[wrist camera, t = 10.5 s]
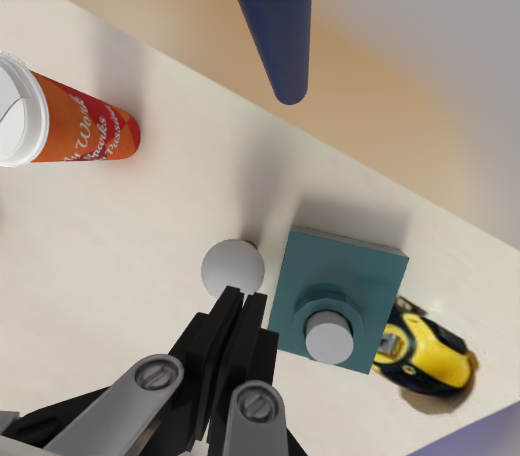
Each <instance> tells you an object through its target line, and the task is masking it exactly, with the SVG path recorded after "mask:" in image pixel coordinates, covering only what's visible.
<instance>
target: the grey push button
mask: <svg viewBox="0 0 520 456" xmlns="http://www.w3.org/2000/svg"><path fill="white" fill-rule="evenodd" d="M353 346H354V344H353V339H352V335H351V332H350V328H349V325H348V323H347V321H346V320H345V318H344V317H343V316H341V315H340V314H338V313H336V312H333V311H320V312H317V313H315V314H314V315H312V316H311V317H310V318H309V320H308V321H307V324H306V347H307V350H308V352H309V354H310V355H311V356H312V357H313V358H314V359H315V360H317V361H319V362H321V363H324V364H338V363H341V362H343V361H345V360H346V359H347V358H348V357H349V356H350V355H351V353H352V351H353Z"/></svg>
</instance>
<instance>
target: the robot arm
mask: <svg viewBox="0 0 520 456" xmlns="http://www.w3.org/2000/svg"><path fill="white" fill-rule="evenodd" d="M243 300H244V293H242V292H240V288H237V287H233V286H228V285H227V286H226V288H225V289H224V291H223V292H222V294H221V296H220V297H219V299H218V300H217V302H216V304H215V305H214V307H213V308H212V310H211V312H210V313H209V315H208V314H205V313H201V312H198V313H197V314H196V315H195V316H194V318H193V319H192V321H191V322H190V324H189V325H188V326H187V328H186V329H185V331H184V332H183V333H182V335H181V336H180V338H179V339H178V340H177V342H176V343H175V345H174V346H173V348H172V349H171V350H170V352H169V353H168V355H167V354H156V355H150V356H148V357H145V358H143V359H141V360H140V361H138V362H137V363H135V364H134V365H133V366H132V367H131V368H130V369H129V370H128V371H127V372H126V373H125V374H123V375H122V376H121V377H120V378H119V379H118V380H117V381H116V382H115V383H114V384H113V385H111V386H109V387H106V388H103V389H100V390H97V391H94V392H90V393H87V394H84V395H81V396H78V397H75V398H72V399H69V400H66V401H63V402H60V403H57V404H54V405H51V406H47V407H44V408H41V409H38V410H36V411H34V412H31V413H29V414H27V415H25V416H24V417H19V412H11V411H0V456H178V455H180V454H182V453H184V452H185V451H188V452H191V450H192V447H193V445H194V442H195V440H199V441H202V438H203V436H204V433H205V430H206V428H207V425H208V422H209V420H210V423H209V429H208V435H207V441H206V443H208V444H209V449H208V455H207V456H308V455H307V454H306V453H305V451H304V450H303V449H302V447H301V446H300V445H299V443H298V442H297V441H296V439H295V438H294V437H293V435H292V434H291V433H290V431H289V430H288V429H287V427H286V418H285V406H284V402H283V399H282V397H281V395H280V394H279V392H278V391H277V390H276V389H275V388H274V387H273V386H272V382H273V375H274V368H275V361H276V354H277V347H278V340H279V333H278V332H274V331H270V330H266V329H262V328H261V324H262V319H263V315H264V310H265V305H266V300H267V295H265V294H261V293H257V292H254V294H253V295H250V294H248V296H247V299H246V301H245V303H244V306H243ZM242 306H243V308H242ZM210 417H211V418H210Z"/></svg>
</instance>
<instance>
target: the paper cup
mask: <svg viewBox="0 0 520 456" xmlns="http://www.w3.org/2000/svg"><path fill="white" fill-rule="evenodd" d="M139 143H140V130H139V127H138V124H137V123H136V121H135V119H134V118H133V117H132V116H131V115H130V114H128V113H127V112H125V111H123V110H121V109H119V108H117V107H115V106H112V105H110V104H108V103H105V102H103V101H101V100H99V99H96V98H94V97H92V96H89V95H87V94H85V93H82V92H80V91H78V90H75V89H73V88H71V87H68V86H66V85H64V84H61V83H59V82H56V81H54V80H52V79H49V78H47V77H45V76H42V75H40V74H38V73H35V72H33V71H31V70H29V69H28V68H27V66H26V65H25V64H24V63H23V62H22V61H20V60H19V59H18V58H16V57H14V56H12V55H10V54H7V53H4V52H0V165H1V166H6V167H19V166H23V165H26V164H28V163H30V162H62V161H93V160H116V159H124V158H128V157H130V156H131V155H133V154H134V153H135V152H136V150H137V149H138V146H139Z"/></svg>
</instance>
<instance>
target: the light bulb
mask: <svg viewBox="0 0 520 456" xmlns="http://www.w3.org/2000/svg"><path fill="white" fill-rule="evenodd" d="M264 271H265V269H264V263H263V259H262V257H261V255H260V253H259V252H258V250H257V247H256V245H255V244H254V243H253V242H251V241H247V240H246V241H242V240H237V239H229V240H225V241H222V242H219V243H218V244H216V245H214V246H213V247H212V248H211V249H210V250H209V251H208V253H207V254H206V256H205V257H204V260H203V263H202V267H201V276H202V281H203V284H204V286H205V288H206V289H207V291H208V292H209V293H210V294H211V295H212V296H213V297H214V298H216V299H219V297H220V296H221V294H222V292H223V291H224V289H225V288H226V286H227V285H228V286H233V287H237V288H240V292H242V293H244V300H243V301H245V300H246V299H247V296H248V294H250V295H253V294H254V292H257V291H258V289H259V288H260V286H261V284H262V282H263V279H264Z"/></svg>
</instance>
